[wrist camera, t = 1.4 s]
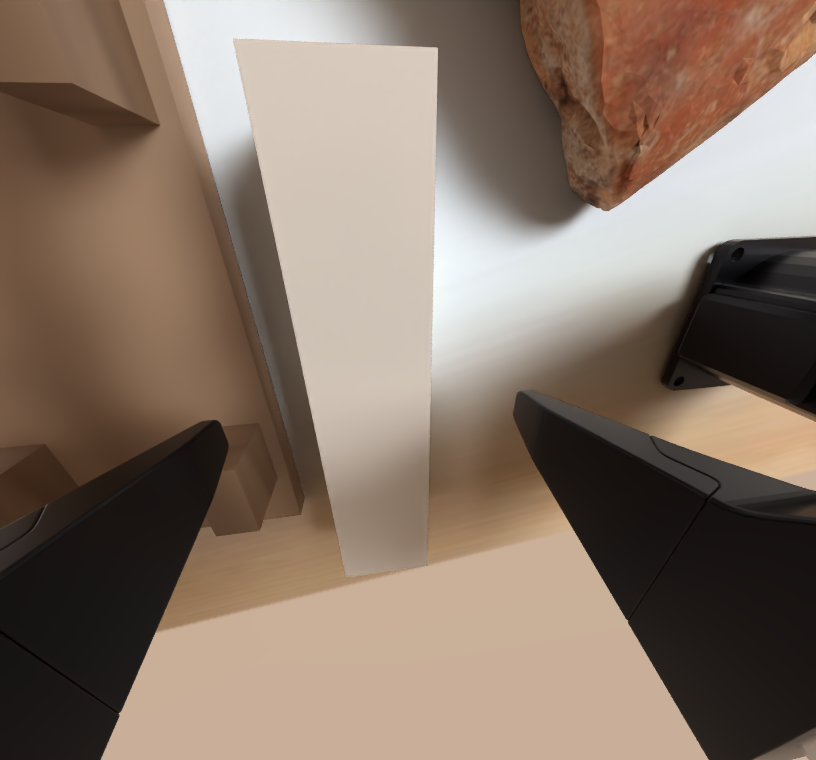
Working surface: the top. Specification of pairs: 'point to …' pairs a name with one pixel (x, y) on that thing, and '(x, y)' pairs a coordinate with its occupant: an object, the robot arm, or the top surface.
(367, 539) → the clay strip
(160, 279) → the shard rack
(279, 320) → the top surface
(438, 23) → the top surface
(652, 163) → the ceramic shard
